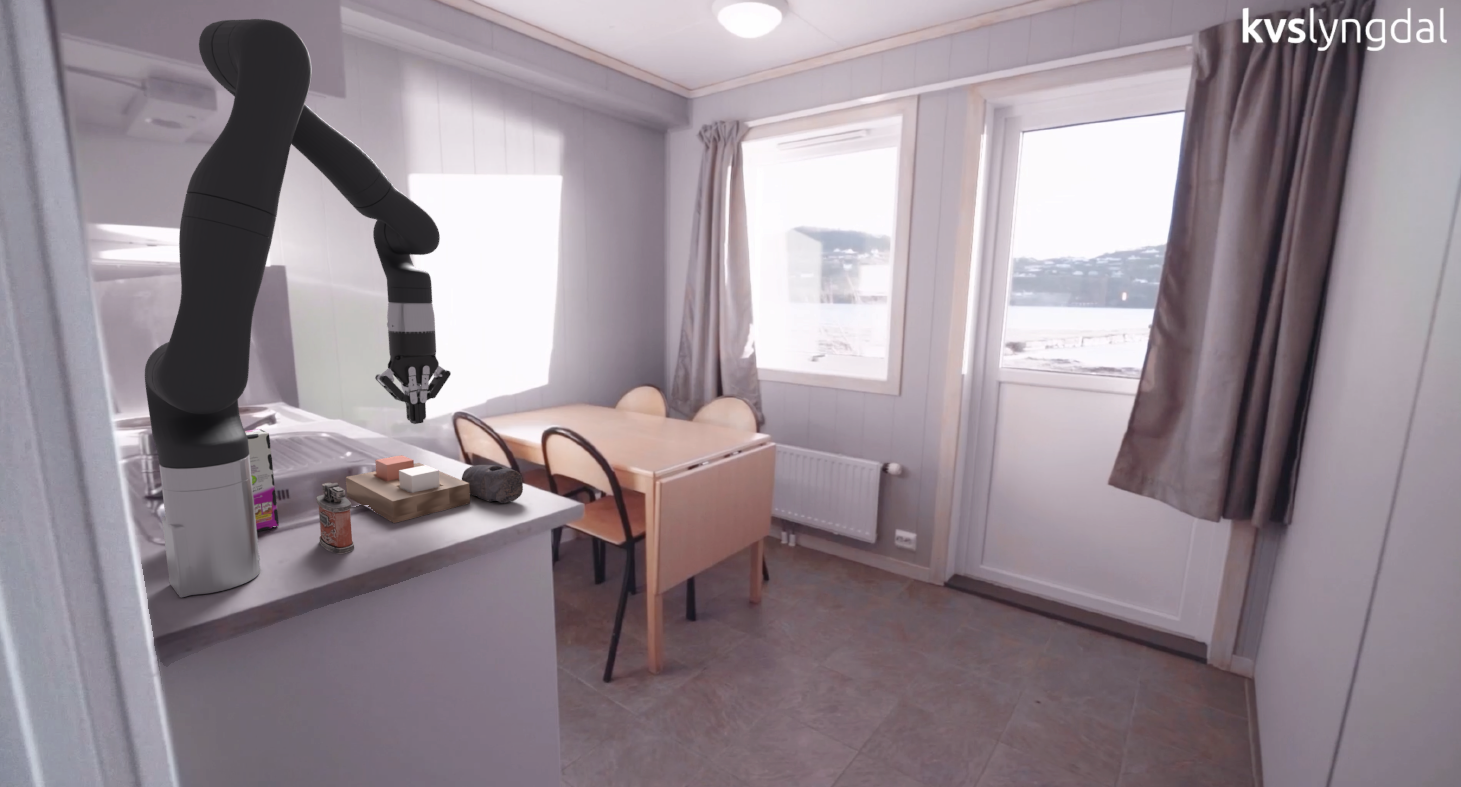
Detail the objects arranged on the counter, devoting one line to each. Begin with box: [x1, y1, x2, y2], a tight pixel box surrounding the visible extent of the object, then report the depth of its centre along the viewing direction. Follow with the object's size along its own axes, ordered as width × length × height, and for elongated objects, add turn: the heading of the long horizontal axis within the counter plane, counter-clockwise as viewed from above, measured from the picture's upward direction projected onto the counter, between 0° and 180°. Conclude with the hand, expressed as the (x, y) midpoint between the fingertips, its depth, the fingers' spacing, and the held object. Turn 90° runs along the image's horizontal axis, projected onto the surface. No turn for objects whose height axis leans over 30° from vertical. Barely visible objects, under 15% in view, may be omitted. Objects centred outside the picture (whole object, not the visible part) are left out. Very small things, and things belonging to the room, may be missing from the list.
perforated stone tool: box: [461, 464, 524, 504], centre depth 120 cm, size 15×5×7 cm, turn 59°
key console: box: [345, 462, 471, 524], centre depth 118 cm, size 14×20×4 cm
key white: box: [399, 464, 440, 493], centre depth 114 cm, size 5×5×4 cm
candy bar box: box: [244, 428, 280, 533], centre depth 99 cm, size 11×5×16 cm, turn 143°
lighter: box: [315, 482, 355, 555], centre depth 96 cm, size 8×3×10 cm, turn 53°
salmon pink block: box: [375, 455, 415, 481], centre depth 121 cm, size 5×5×4 cm
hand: (416, 422), depth 113 cm, fingers closed
